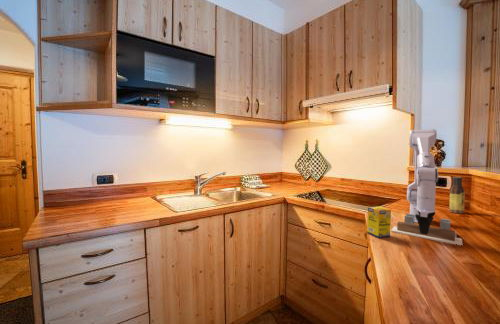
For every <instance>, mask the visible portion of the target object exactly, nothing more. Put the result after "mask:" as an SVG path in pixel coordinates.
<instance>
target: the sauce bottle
mask: <svg viewBox="0 0 500 324" xmlns="http://www.w3.org/2000/svg"><path fill="white" fill-rule="evenodd" d="M465 193H466V191H465V189H464V186H463V177H461V176H453V177H452V185H451V186H450V188H449V199H448V200H449V202H448V203H449V205H448V207H449V212H450V213H452V214H461V215H462V214H464V213H465V202H466V201H465V200H466V199H465V198H466V197H465V195H466V194H465Z"/></svg>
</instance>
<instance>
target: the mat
mask: <svg viewBox="0 0 500 324" xmlns="http://www.w3.org/2000/svg"><path fill="white" fill-rule="evenodd" d="M390 233H396V234H401V235H406V236H412V237H416V238H420V239H426V240H431V241H436V242H442V243H447V244H451V245H456V244H457V246H461V245H462V247H463V239H462V238H460V237H457V238H455V241H452V240H446V239H441V238H436V237H431V236H425V235H420V234H415V233H410V232H405V231H399V230H397V226H395V225H394V226H393V227H392V228H391V229H390Z"/></svg>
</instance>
